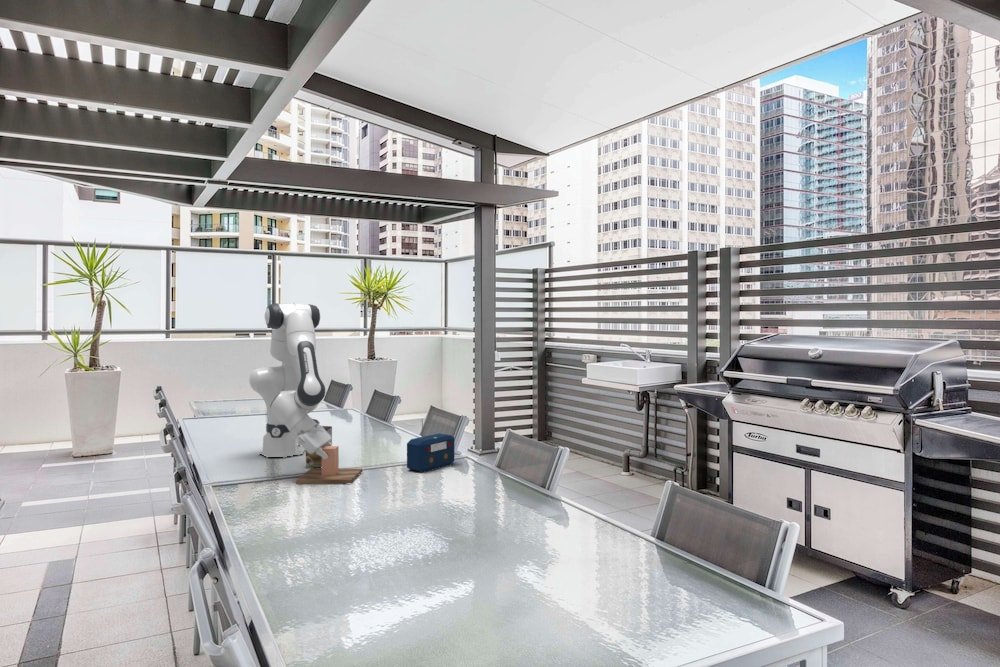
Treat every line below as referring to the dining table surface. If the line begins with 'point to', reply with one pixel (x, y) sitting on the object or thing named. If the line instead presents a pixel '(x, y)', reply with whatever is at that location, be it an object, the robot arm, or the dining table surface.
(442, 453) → the radio
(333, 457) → the terracotta block
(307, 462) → the coffee box
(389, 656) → the dining table surface
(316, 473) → the walnut board
